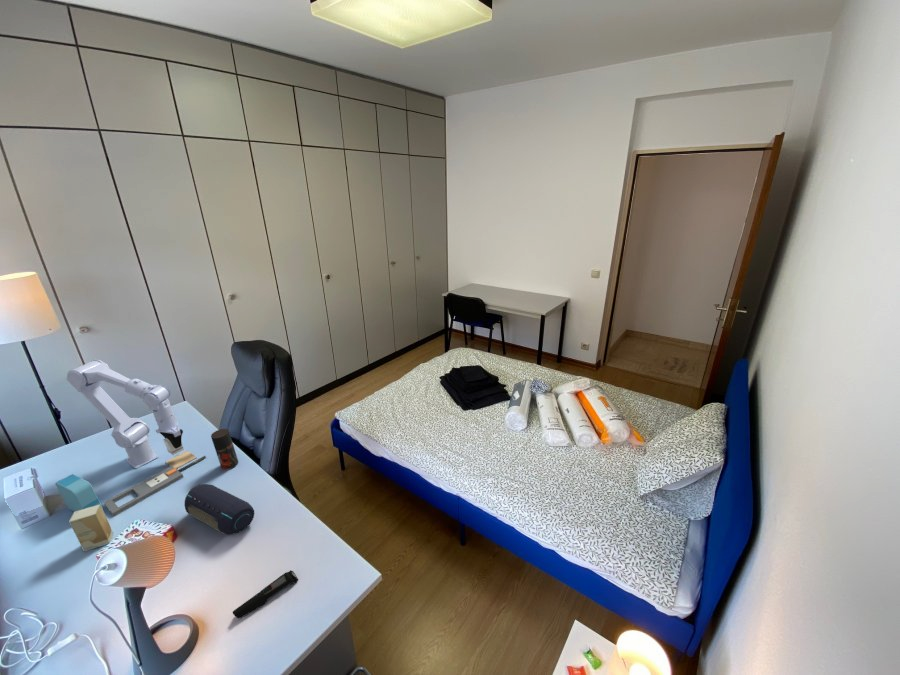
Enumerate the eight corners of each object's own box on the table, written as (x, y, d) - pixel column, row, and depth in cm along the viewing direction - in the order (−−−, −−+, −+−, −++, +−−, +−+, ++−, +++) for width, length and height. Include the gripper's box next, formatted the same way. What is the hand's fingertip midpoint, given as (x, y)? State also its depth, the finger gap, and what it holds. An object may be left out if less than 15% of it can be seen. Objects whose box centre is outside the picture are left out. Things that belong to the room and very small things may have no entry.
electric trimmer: (233, 614, 92) (230, 606, 91) (293, 572, 102) (291, 564, 101) (237, 626, 90) (234, 618, 88) (299, 581, 99) (296, 573, 98)
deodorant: (241, 459, 146) (232, 429, 140) (232, 470, 140) (221, 438, 135) (228, 459, 146) (218, 428, 141) (217, 469, 141) (207, 438, 135)
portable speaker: (183, 518, 120) (174, 495, 116) (213, 496, 128) (205, 474, 125) (233, 546, 110) (224, 522, 106) (261, 521, 118) (254, 497, 114)
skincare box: (83, 552, 109) (66, 522, 105) (89, 540, 113) (72, 511, 108) (111, 543, 112) (95, 513, 107) (115, 532, 115) (100, 503, 111)
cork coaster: (165, 462, 145) (165, 461, 145) (187, 451, 152) (187, 450, 152) (174, 469, 141) (174, 469, 141) (196, 457, 148) (196, 457, 147)
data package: (104, 509, 124) (90, 482, 120) (87, 519, 120) (72, 492, 116) (85, 499, 129) (70, 472, 124) (68, 508, 125) (53, 481, 120)
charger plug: (168, 451, 144) (163, 439, 141) (179, 446, 147) (174, 433, 145) (172, 455, 142) (167, 442, 139) (184, 449, 145) (179, 437, 142)
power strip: (104, 505, 126) (102, 500, 125) (200, 453, 150) (198, 449, 149) (114, 516, 121) (111, 511, 121) (211, 461, 145) (209, 457, 145)
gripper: (144, 416, 139) (156, 444, 144) (160, 427, 132) (172, 457, 137) (165, 407, 145) (176, 435, 150) (182, 417, 137) (192, 446, 142)
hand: (175, 445), depth 144 cm, fingers closed on charger plug, 4 cm apart
